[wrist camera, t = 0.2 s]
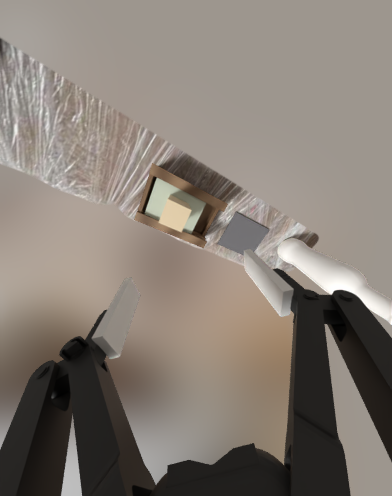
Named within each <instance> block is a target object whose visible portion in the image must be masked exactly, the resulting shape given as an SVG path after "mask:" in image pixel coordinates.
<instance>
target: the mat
mask: <svg viewBox="0 0 392 496" xmlns="http://www.w3.org/2000/svg"><path fill="white" fill-rule="evenodd" d="M268 231H269V229H267V228H265V227H263V226H261V225H259V224H258V223H256V222H254V221H252V220H250V219H248V218H246V217H244V216H243V215H241V214H239V213H237V212H236V213H235V214H234V216H233V218H232V220H231V221H230V223H229V225H228V226H227V228H226V230H225V231H224V233H223V235H222V237H221V238H220V240H219V242H218V243H217V244H219V245H221V246H223V247H226V248H228V249H230V250H233V251H235V252H237V253H240V254H242V255H244V250H247V249H251V250H252V251H253V252H254V251H255V250H256V248H257V247H258V245H259V244H260V243H261V241H262V240H263V238H264V237H265V236H266V234H267V233H268Z"/></svg>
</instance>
